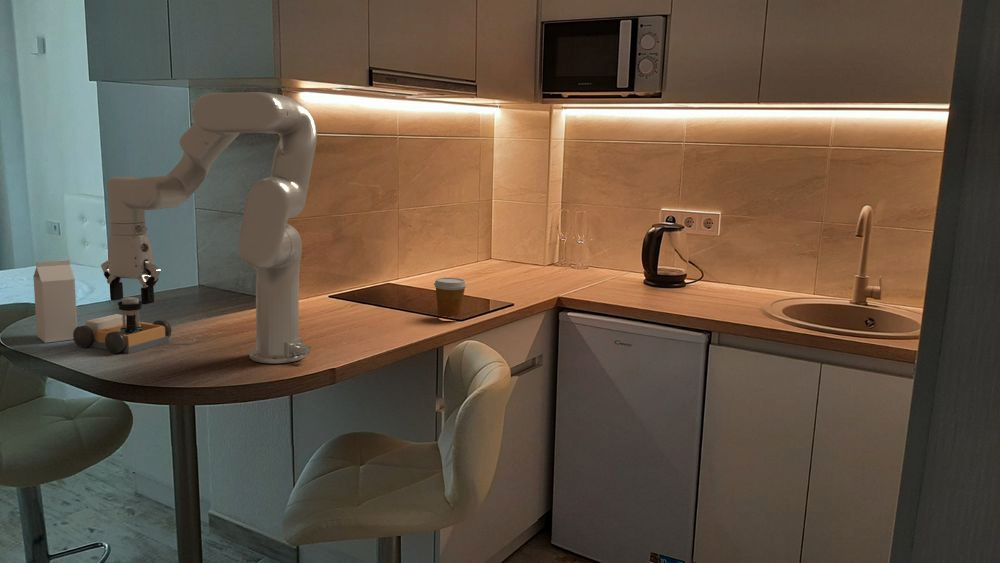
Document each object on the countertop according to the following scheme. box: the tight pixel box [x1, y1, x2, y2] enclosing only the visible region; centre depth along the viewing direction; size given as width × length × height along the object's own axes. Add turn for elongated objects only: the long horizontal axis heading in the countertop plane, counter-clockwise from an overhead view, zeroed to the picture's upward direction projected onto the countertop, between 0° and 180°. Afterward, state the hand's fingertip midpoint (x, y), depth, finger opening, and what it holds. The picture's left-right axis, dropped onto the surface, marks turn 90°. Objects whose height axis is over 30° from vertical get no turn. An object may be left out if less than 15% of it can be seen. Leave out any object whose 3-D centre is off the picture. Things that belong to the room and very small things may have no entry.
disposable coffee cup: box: [433, 277, 467, 317], centre depth 222 cm, size 10×10×12 cm
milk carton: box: [32, 259, 78, 344], centre depth 181 cm, size 7×7×19 cm
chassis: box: [73, 313, 172, 354], centre depth 181 cm, size 16×15×6 cm
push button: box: [117, 296, 143, 335], centre depth 179 cm, size 7×5×10 cm
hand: (132, 301), depth 178 cm, fingers open, 9 cm apart
